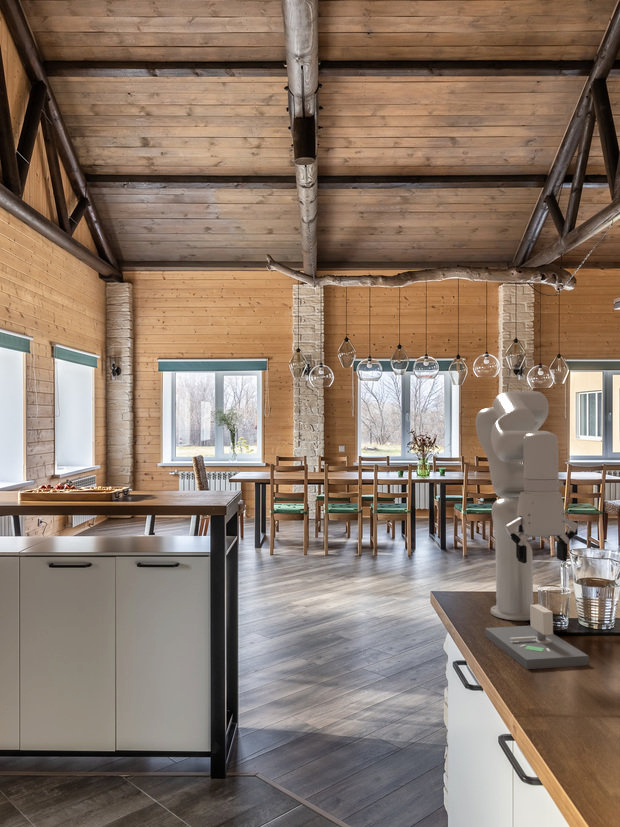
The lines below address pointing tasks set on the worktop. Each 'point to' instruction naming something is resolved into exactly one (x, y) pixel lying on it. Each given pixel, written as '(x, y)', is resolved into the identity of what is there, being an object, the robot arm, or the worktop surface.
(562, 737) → the worktop surface
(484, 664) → the worktop surface
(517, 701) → the worktop surface
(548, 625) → the door lever handle
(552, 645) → the dial board
